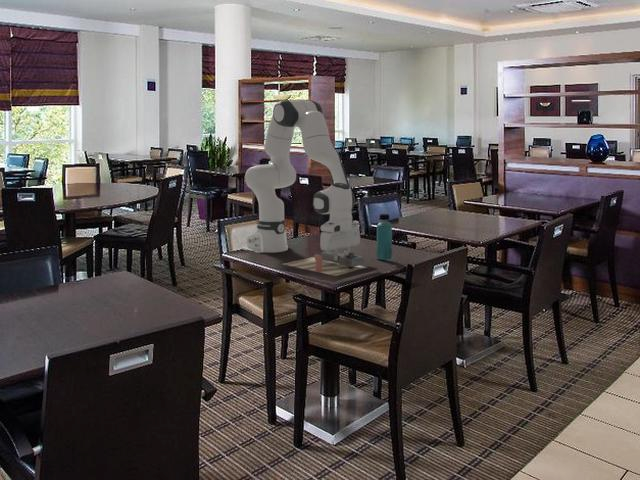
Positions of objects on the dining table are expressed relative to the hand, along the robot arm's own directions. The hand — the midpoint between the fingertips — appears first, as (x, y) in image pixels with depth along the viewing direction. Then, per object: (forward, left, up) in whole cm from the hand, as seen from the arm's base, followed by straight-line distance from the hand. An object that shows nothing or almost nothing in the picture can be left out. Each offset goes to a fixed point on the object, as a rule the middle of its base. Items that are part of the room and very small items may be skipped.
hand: (340, 259), depth 259 cm
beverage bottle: (+5, +21, -4) cm, 22 cm away
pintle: (+5, 0, -4) cm, 7 cm away
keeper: (-3, -10, -3) cm, 11 cm away
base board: (-5, -4, -4) cm, 8 cm away
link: (0, 0, -1) cm, 1 cm away
